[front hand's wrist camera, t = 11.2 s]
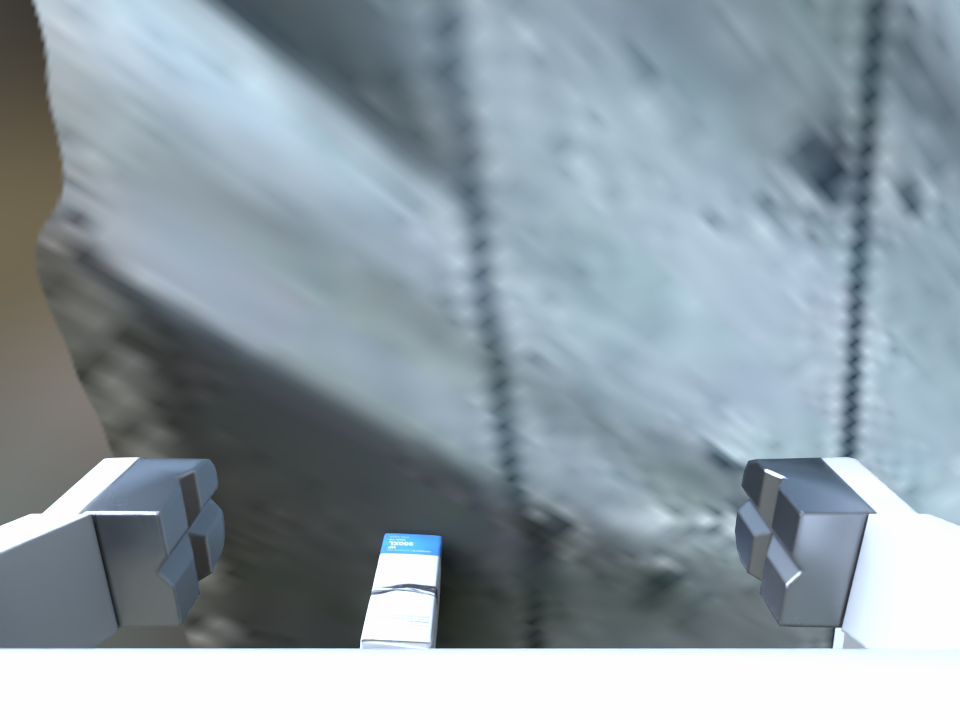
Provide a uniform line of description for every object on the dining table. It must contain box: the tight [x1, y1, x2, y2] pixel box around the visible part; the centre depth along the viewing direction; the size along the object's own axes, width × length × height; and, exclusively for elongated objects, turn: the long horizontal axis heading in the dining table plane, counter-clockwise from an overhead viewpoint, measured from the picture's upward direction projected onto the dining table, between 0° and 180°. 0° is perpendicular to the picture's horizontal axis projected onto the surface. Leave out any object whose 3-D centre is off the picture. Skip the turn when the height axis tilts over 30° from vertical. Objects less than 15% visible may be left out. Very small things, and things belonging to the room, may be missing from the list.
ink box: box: [361, 534, 442, 649], centre depth 49 cm, size 8×5×12 cm, turn 176°
